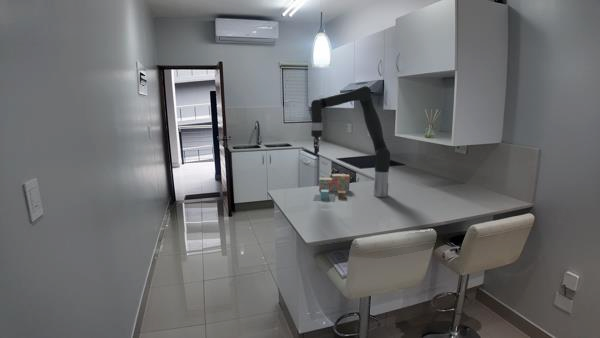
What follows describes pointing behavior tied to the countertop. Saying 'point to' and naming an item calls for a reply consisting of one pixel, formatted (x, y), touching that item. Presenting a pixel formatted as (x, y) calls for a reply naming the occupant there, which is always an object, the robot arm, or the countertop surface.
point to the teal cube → (324, 194)
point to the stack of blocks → (335, 183)
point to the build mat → (331, 199)
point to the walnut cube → (341, 194)
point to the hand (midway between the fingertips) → (316, 153)
